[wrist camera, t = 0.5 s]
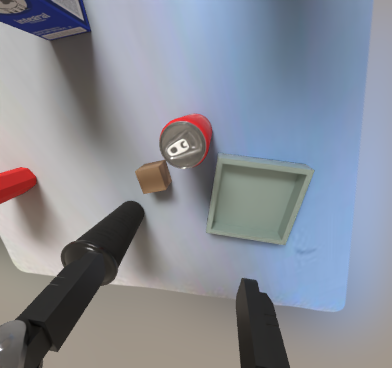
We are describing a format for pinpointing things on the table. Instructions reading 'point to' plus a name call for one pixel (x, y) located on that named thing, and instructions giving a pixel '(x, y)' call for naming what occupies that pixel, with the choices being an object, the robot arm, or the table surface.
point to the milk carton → (46, 17)
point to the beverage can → (186, 141)
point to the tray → (256, 197)
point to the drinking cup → (108, 239)
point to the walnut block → (153, 177)
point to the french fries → (15, 183)
